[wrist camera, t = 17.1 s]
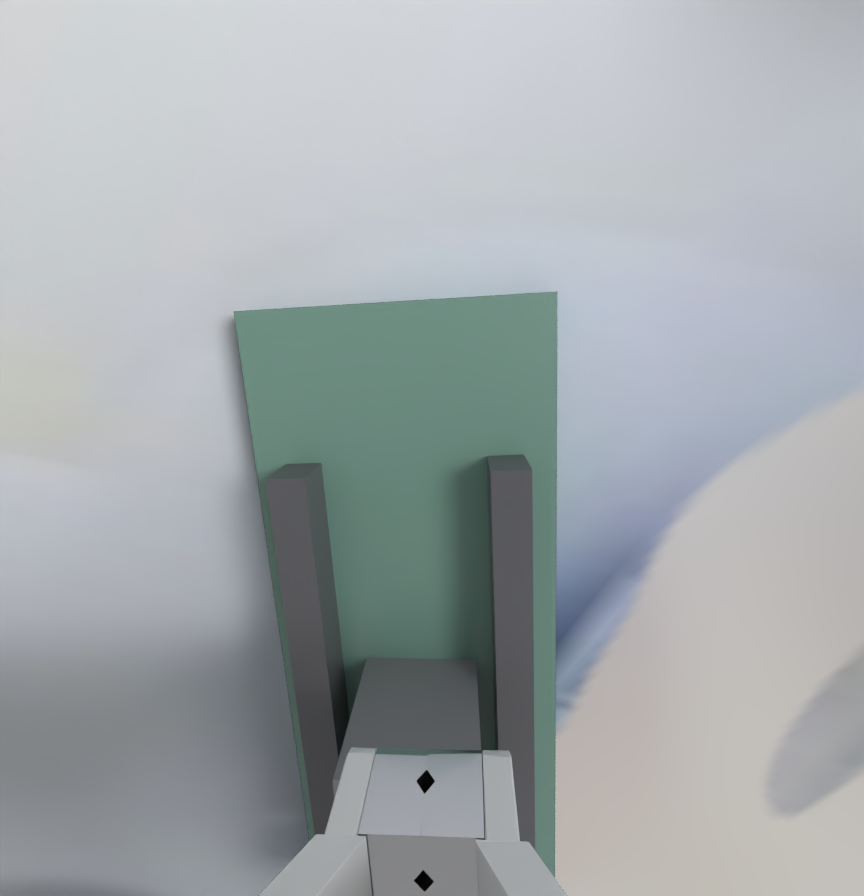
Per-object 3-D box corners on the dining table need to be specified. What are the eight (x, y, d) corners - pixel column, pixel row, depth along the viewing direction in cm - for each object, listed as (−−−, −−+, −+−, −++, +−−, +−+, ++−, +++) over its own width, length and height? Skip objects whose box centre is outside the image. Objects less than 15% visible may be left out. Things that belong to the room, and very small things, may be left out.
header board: (550, 294, 15) (644, 254, 8) (550, 872, 21) (604, 1186, 13) (247, 313, 16) (54, 292, 8) (323, 869, 21) (249, 1167, 14)
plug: (476, 659, 17) (483, 785, 13) (475, 821, 19) (481, 987, 14) (367, 657, 18) (332, 779, 13) (375, 817, 19) (348, 979, 14)
